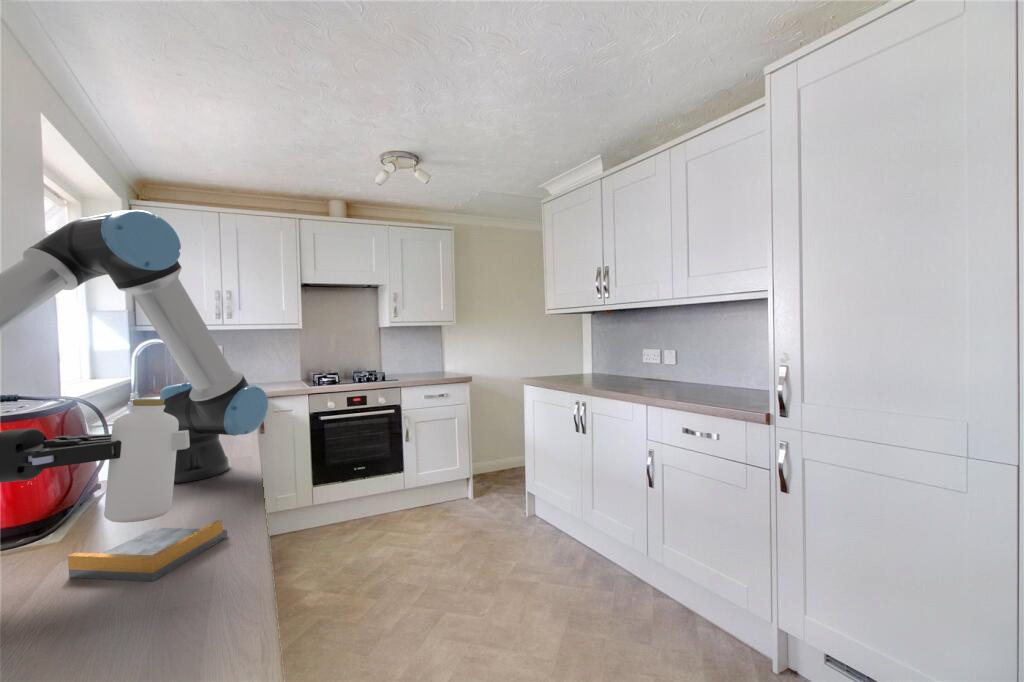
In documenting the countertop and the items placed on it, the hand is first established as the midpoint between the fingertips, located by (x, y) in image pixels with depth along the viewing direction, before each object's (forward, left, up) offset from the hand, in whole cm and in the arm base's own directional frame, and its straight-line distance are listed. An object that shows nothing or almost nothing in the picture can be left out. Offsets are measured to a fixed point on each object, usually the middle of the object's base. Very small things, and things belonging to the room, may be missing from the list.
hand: (187, 439), depth 75 cm
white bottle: (+4, -6, -11) cm, 13 cm away
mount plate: (+2, -5, -18) cm, 19 cm away
